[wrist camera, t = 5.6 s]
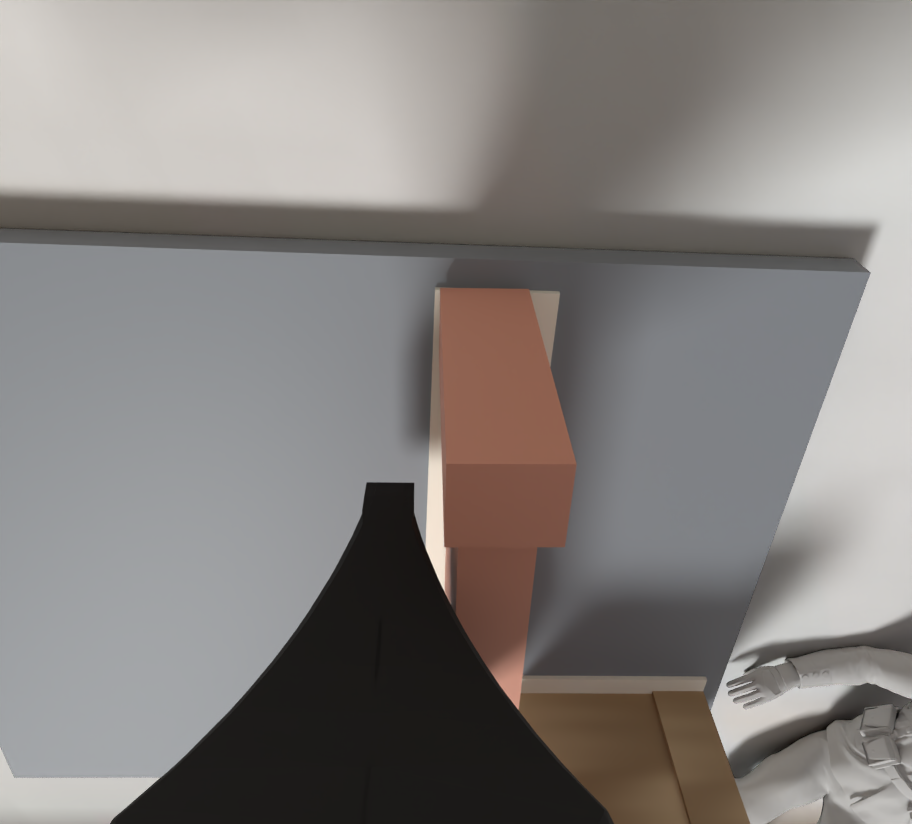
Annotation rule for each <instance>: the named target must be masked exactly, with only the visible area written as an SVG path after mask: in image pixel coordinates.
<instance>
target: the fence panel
mask: <svg viewBox="0 0 912 824" xmlns="http://www.w3.org/2000/svg"><path fill="white" fill-rule="evenodd" d="M439 374H440V411H441V448H442V485H443V522H444V547H446V556H445V594H446V596H447V598H448V600H449V602H450V604H451V606H452V608H453V610H454V612H455V614H456V616H457V617H458V619H459V621H460V623H461V625H462V626H463V628H464V630H465V632H466V633H467V635H468V637H469V639H470V640H471V642H472V644H473V645H474V647H475V648H476V650H477V652H478V653H479V655H480V656H481V658H482V660H483V661H484V663H485V664H486V666H487V667H488V669H489V670H490V672H491V673H492V675H493V676H494V678H495V679H496V681H497V682H498V684H499V685H500V686H501V688H502V689H503V690H504V692H505V693H506V694H507V696H508V697H509V698H510V700H511V701H512V702H513V704H514V705H515V706H516V707H517V709H518V710H519V702H520V694H521V685H522V676H523V668H524V659H525V650H526V642H527V633H528V624H529V616H530V607H531V598H532V590H533V581H534V572H535V564H536V555H537V547H565V543H566V536H567V529H568V522H569V515H570V508H571V501H572V494H573V487H574V480H575V473H576V466H577V464H576V460H575V456H574V453H573V449H572V445H571V442H570V438H569V434H568V431H567V427H566V423H565V420H564V416H563V412H562V409H561V405H560V401H559V398H558V394H557V390H556V387H555V383H554V379H553V376H552V372H551V368H550V365H549V361H548V357H547V354H546V350H545V346H544V342H543V339H542V335H541V331H540V328H539V324H538V320H537V317H536V313H535V309H534V306H533V302H532V298H531V295H530V291H529V289H500V288H440V325H439Z"/></svg>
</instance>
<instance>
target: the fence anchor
mask: <svg viewBox="0 0 912 824" xmlns="http://www.w3.org/2000/svg"><path fill="white" fill-rule="evenodd" d="M519 711H520V713H521V714H522V715H523V717H524V718H525V719H526V720H527V722H528V723H529V724H530V726H531V727H532V728H533V730H534V731H535V732H536V733H537V735H538V736H539V737H540V738H541V739H542V740H543V742H544V743H545V744H546V745H547V746H548V747H549V748H550V750H551V751H552V752H553V753H554V754H555V755H556V757H557V758H558V759H559V760H560V761H561V762H562V763H563V765H564V766H565V767H566V768H567V769H568V770H569V771H570V772H571V773H572V774H573V775H574V776H575V777H576V779H577V780H578V781H579V782H580V783H581V784H582V785H583V786H584V787H585V788H586V789H587V790H588V791H589V792H590V793H591V794H592V795H593V796H594V797H595V798H596V799H597V800H598V801H599V802H600V803H601V804H602V805H603V806H604V807H605V808H606V809H607V811H608V812H609V814H610V816H611V818H612V820H613V823H614V824H750V821H749V818H748V816H747V813H746V810H745V807H744V804H743V801H742V799H741V796H740V793H739V790H738V787H737V785H736V782H735V779H734V776H733V773H732V771H731V768H730V765H729V762H728V759H727V756H726V754H725V751H724V748H723V745H722V742H721V740H720V737H719V734H718V731H717V728H716V726H715V723H714V720H713V717H712V714H711V712H710V709H709V706H708V703H707V700H706V697H705V695H704V692H703V691H653V692H652V694H592V693H521V694H520V702H519Z"/></svg>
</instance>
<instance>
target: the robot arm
mask: <svg viewBox="0 0 912 824" xmlns="http://www.w3.org/2000/svg"><path fill="white" fill-rule="evenodd" d="M110 824H614V823H613V820H612V818H611V816H610V814H609V812H608V811H607V809H606V808H605V807H604V806H603V805H602V804H601V803H600V802H599V801H598V800H597V799H596V798H595V797H594V796H593V795H592V794H591V793H590V792H589V791H588V790H587V789H586V788H585V787H584V786H583V785H582V784H581V783H580V782H579V781H578V780H577V779H576V777H575V776H574V775H573V774H572V773H571V772H570V771H569V770H568V769H567V768H566V767H565V766H564V765H563V763H562V762H561V761H560V760H559V759H558V758H557V757H556V755H555V754H554V753H553V752H552V751H551V750H550V748H549V747H548V746H547V745H546V744H545V743H544V742H543V740H542V739H541V738H540V737H539V736H538V735H537V733H536V732H535V731H534V730H533V728H532V727H531V726H530V724H529V723H528V722H527V720H526V719H525V718H524V717H523V715H522V714H521V713H520V711H519V710H518V709H517V707H516V706H515V705H514V704H513V702H512V701H511V700H510V698H509V697H508V696H507V694H506V693H505V692H504V690H503V689H502V688H501V686H500V685H499V684H498V682H497V681H496V679H495V678H494V676H493V675H492V673H491V672H490V670H489V669H488V667H487V666H486V664H485V663H484V661H483V660H482V658H481V656H480V655H479V653H478V652H477V650H476V648H475V647H474V645H473V644H472V642H471V640H470V639H469V637H468V635H467V633H466V632H465V630H464V628H463V626H462V625H461V623H460V621H459V619H458V617H457V616H456V614H455V612H454V610H453V608H452V606H451V604H450V602H449V600H448V598H447V596H446V594H445V592H444V590H443V588H442V586H441V583H440V581H439V579H438V577H437V574H436V572H435V570H434V567H433V565H432V563H431V560H430V558H429V555H428V553H427V551H426V548H425V545H424V542H423V540H422V537H421V534H420V530H419V527H418V524H417V521H416V517H415V513H414V483H395V482H367V483H366V489H365V494H364V501H363V508H362V515H361V517H360V520H359V522H358V524H357V526H356V528H355V531H354V533H353V535H352V537H351V539H350V541H349V543H348V545H347V547H346V549H345V551H344V552H343V554H342V556H341V558H340V560H339V562H338V564H337V566H336V568H335V569H334V571H333V573H332V575H331V576H330V578H329V580H328V581H327V583H326V584H325V586H324V588H323V589H322V591H321V592H320V594H319V596H318V597H317V599H316V600H315V602H314V604H313V605H312V607H311V608H310V610H309V612H308V613H307V615H306V616H305V618H304V619H303V620H302V622H301V623H300V625H299V626H298V628H297V629H296V630H295V632H294V633H293V635H292V636H291V637H290V639H289V640H288V641H287V643H286V644H285V645H284V647H283V648H282V649H281V651H280V652H279V653H278V655H277V656H276V657H275V658H274V660H273V661H272V662H271V663H270V665H269V666H268V667H267V668H266V669H265V671H264V672H263V673H262V674H261V675H260V676H259V678H258V679H257V680H256V681H255V682H254V684H253V685H252V686H251V687H250V688H249V690H248V691H247V692H246V693H245V694H244V695H243V696H242V698H241V699H240V700H239V701H238V702H237V703H236V704H235V705H234V706H233V707H232V709H231V710H230V711H229V712H228V713H227V714H226V715H225V716H224V717H223V718H222V719H221V720H220V721H219V722H218V723H217V724H216V725H215V726H214V727H213V728H212V729H211V730H210V731H209V732H208V733H207V734H206V735H205V736H204V737H203V738H202V739H201V740H200V741H199V742H198V743H197V744H196V745H195V746H194V747H193V748H192V749H191V750H190V751H189V752H188V753H187V754H186V755H185V756H184V757H183V758H182V759H181V760H180V761H179V762H178V763H177V764H176V765H174V766H173V767H172V768H171V769H170V770H169V771H168V772H167V773H165V774H164V775H163V776H162V777H161V778H160V779H159V780H157V781H156V782H155V783H154V784H153V785H152V786H151V787H149V788H148V789H147V790H146V791H145V792H144V793H143V794H141V795H140V796H139V797H138V798H137V799H136V800H134V801H133V802H132V803H131V804H130V805H129V806H128V807H126V808H125V809H124V810H123V811H122V812H121V813H119V814H118V815H117V816H116V817H115V818H114V819H113V820H112V821H111V823H110Z"/></svg>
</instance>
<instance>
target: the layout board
mask: <svg viewBox="0 0 912 824" xmlns="http://www.w3.org/2000/svg"><path fill="white" fill-rule="evenodd" d="M869 276H870V272H869V271H868V270H867V269H866V268H864V267H863V266H862V265H861V264H859V263H858V262H857V261H856V260H854V259H851V258H823V257H795V256H767V255H738V254H710V253H682V252H654V251H626V250H598V249H569V248H541V247H513V246H485V245H457V244H428V243H400V242H372V241H344V240H316V239H287V238H259V237H231V236H203V235H175V234H147V233H118V232H90V231H62V230H34V229H6V228H0V747H1V750H2V752H3V754H4V756H5V758H6V760H7V763H8V765H9V767H10V769H11V771H12V774H13V776H14V778H108V777H162V776H163V775H164V774H165V773H167V772H168V771H169V770H170V769H171V768H172V767H173V766H174V765H176V764H177V763H178V762H179V761H180V760H181V759H182V758H183V757H184V756H185V755H186V754H187V753H188V752H189V751H190V750H191V749H192V748H193V747H194V746H195V745H196V744H197V743H198V742H199V741H200V740H201V739H202V738H203V737H204V736H205V735H206V734H207V733H208V732H209V731H210V730H211V729H212V728H213V727H214V726H215V725H216V724H217V723H218V722H219V721H220V720H221V719H222V718H223V717H224V716H225V715H226V714H227V713H228V712H229V711H230V710H231V709H232V707H233V706H234V705H235V704H236V703H237V702H238V701H239V700H240V699H241V698H242V696H243V695H244V694H245V693H246V692H247V691H248V690H249V688H250V687H251V686H252V685H253V684H254V682H255V681H256V680H257V679H258V678H259V676H260V675H261V674H262V673H263V672H264V671H265V669H266V668H267V667H268V666H269V665H270V663H271V662H272V661H273V660H274V658H275V657H276V656H277V655H278V653H279V652H280V651H281V649H282V648H283V647H284V645H285V644H286V643H287V641H288V640H289V639H290V637H291V636H292V635H293V633H294V632H295V630H296V629H297V628H298V626H299V625H300V623H301V622H302V620H303V619H304V618H305V616H306V615H307V613H308V612H309V610H310V608H311V607H312V605H313V604H314V602H315V600H316V599H317V597H318V596H319V594H320V592H321V591H322V589H323V588H324V586H325V584H326V583H327V581H328V580H329V578H330V576H331V575H332V573H333V571H334V569H335V568H336V566H337V564H338V562H339V560H340V558H341V556H342V554H343V552H344V551H345V549H346V547H347V545H348V543H349V541H350V539H351V537H352V535H353V533H354V531H355V528H356V526H357V524H358V522H359V520H360V517H361V515H362V508H363V501H364V494H365V489H366V483H367V482H395V483H414V513H415V517H416V521H417V524H418V527H419V530H420V534H421V537H422V540H423V542H424V545H425V548H426V551H427V553H428V555H429V558H430V560H431V563H432V565H433V567H434V570H435V572H436V574H437V577H438V579H439V581H440V583H441V586H442V588H443V590H444V592H445V556H446V547H444V522H443V485H442V448H441V411H440V374H439V325H440V288H500V289H529V291H530V295H531V298H532V302H533V306H534V309H535V313H536V317H537V320H538V324H539V328H540V331H541V335H542V339H543V342H544V346H545V350H546V354H547V357H548V361H549V365H550V368H551V372H552V376H553V379H554V383H555V387H556V390H557V394H558V398H559V401H560V405H561V409H562V412H563V416H564V420H565V423H566V427H567V431H568V434H569V438H570V442H571V445H572V449H573V453H574V456H575V460H576V464H577V466H576V473H575V480H574V487H573V494H572V501H571V508H570V515H569V522H568V529H567V536H566V543H565V547H537V555H536V564H535V572H534V581H533V590H532V598H531V607H530V616H529V624H528V633H527V642H526V650H525V659H524V668H523V676H522V685H521V693H592V694H652V692H653V691H703V692H704V695H705V697H706V700H707V703H708V706H709V709H710V710H711V707H712V705H713V702H714V699H715V696H716V694H717V691H718V688H719V686H720V683H721V680H722V677H723V675H724V672H725V669H726V666H727V664H728V661H729V658H730V655H731V653H732V650H733V647H734V645H735V642H736V639H737V636H738V634H739V631H740V628H741V625H742V623H743V620H744V617H745V614H746V612H747V609H748V606H749V604H750V601H751V598H752V595H753V593H754V590H755V587H756V584H757V582H758V579H759V576H760V573H761V571H762V568H763V565H764V563H765V560H766V557H767V554H768V552H769V549H770V546H771V543H772V541H773V538H774V535H775V532H776V530H777V527H778V524H779V522H780V519H781V516H782V513H783V511H784V508H785V505H786V502H787V500H788V497H789V494H790V491H791V489H792V486H793V483H794V481H795V478H796V475H797V472H798V470H799V467H800V464H801V461H802V459H803V456H804V453H805V451H806V448H807V445H808V442H809V440H810V437H811V434H812V431H813V429H814V426H815V423H816V420H817V418H818V415H819V412H820V410H821V407H822V404H823V401H824V399H825V396H826V393H827V390H828V388H829V385H830V382H831V379H832V377H833V374H834V371H835V369H836V366H837V363H838V360H839V358H840V355H841V352H842V349H843V347H844V344H845V341H846V338H847V336H848V333H849V330H850V328H851V325H852V322H853V319H854V317H855V314H856V311H857V308H858V306H859V303H860V300H861V297H862V295H863V292H864V289H865V287H866V284H867V281H868V278H869Z"/></svg>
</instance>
